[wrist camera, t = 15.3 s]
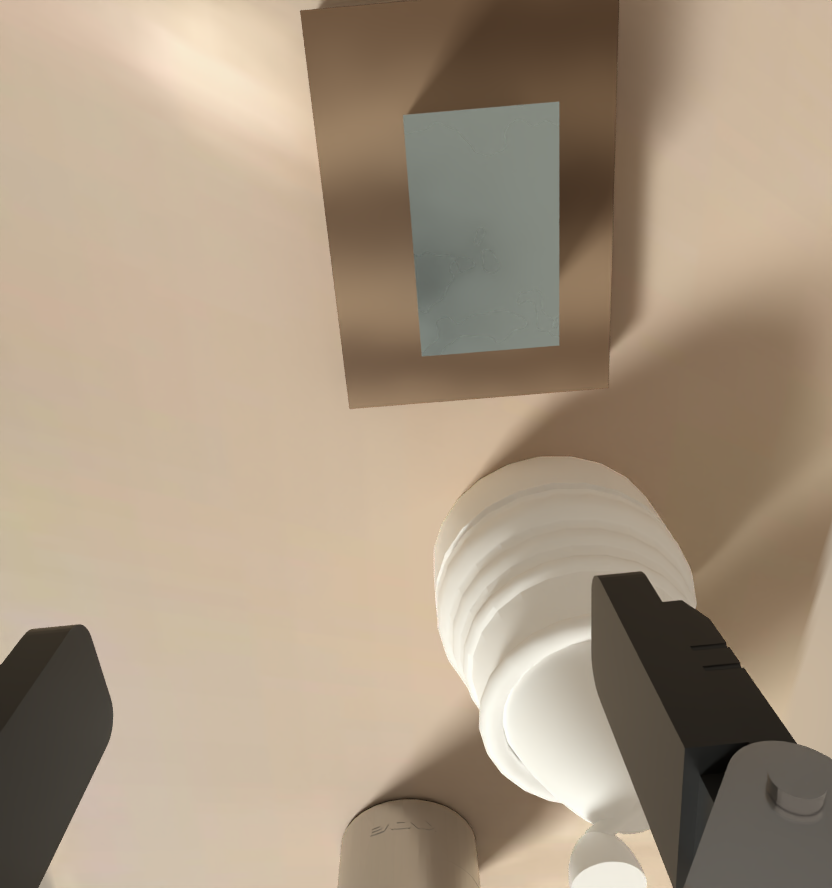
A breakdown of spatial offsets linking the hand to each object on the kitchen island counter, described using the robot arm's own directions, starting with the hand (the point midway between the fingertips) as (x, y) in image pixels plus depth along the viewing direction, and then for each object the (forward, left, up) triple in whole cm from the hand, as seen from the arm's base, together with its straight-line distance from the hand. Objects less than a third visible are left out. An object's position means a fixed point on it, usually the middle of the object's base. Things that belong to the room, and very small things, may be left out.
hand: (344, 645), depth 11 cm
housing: (+4, -4, -22) cm, 23 cm away
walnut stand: (+4, -4, -25) cm, 25 cm away
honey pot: (-15, -8, -25) cm, 30 cm away
